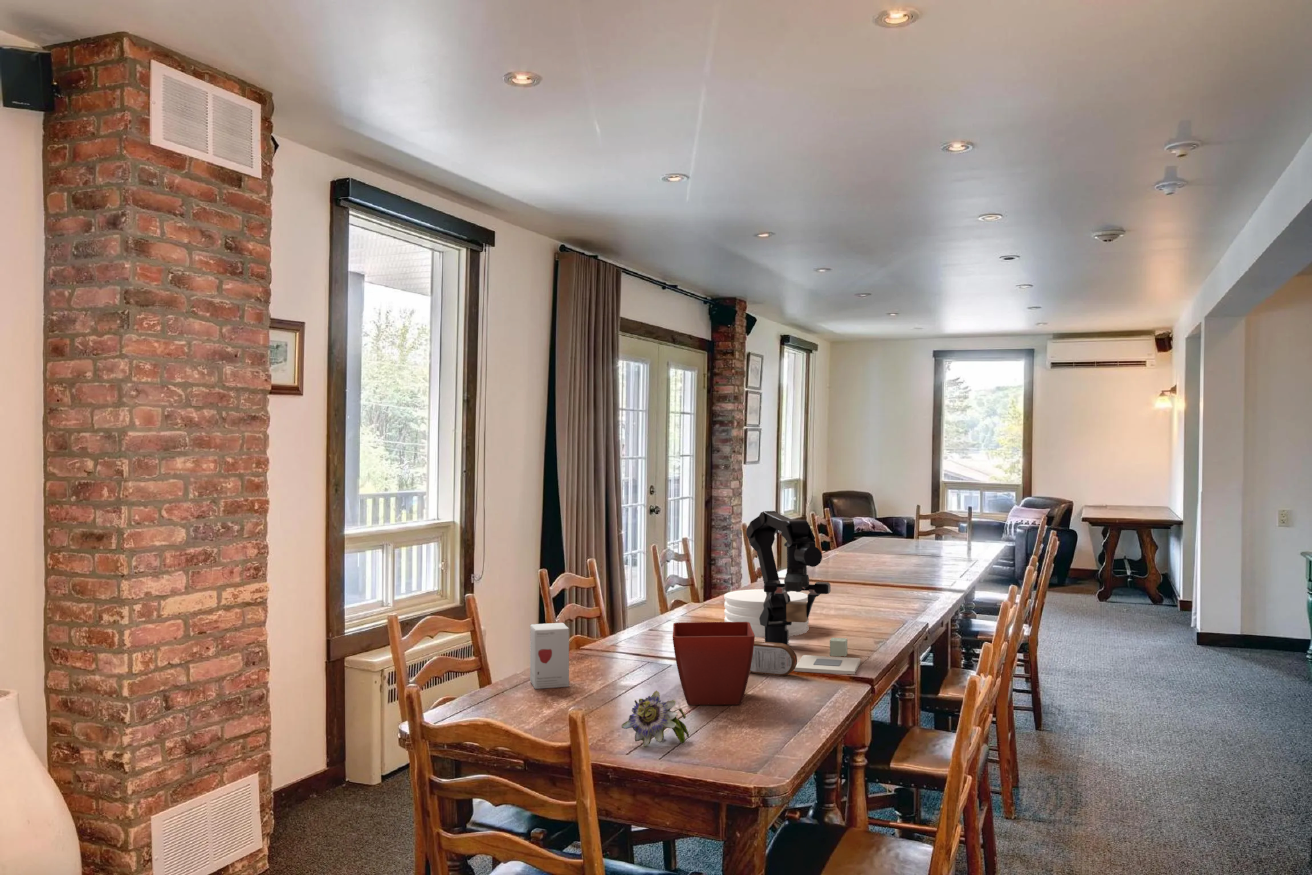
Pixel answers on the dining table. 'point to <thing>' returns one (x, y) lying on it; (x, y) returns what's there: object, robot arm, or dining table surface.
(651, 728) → the passion flower
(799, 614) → the walnut block
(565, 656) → the supplement box
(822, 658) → the off-white flat square slab
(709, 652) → the plant pot
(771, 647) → the tin
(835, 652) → the sage block
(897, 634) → the dining table surface
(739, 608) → the plate stack
